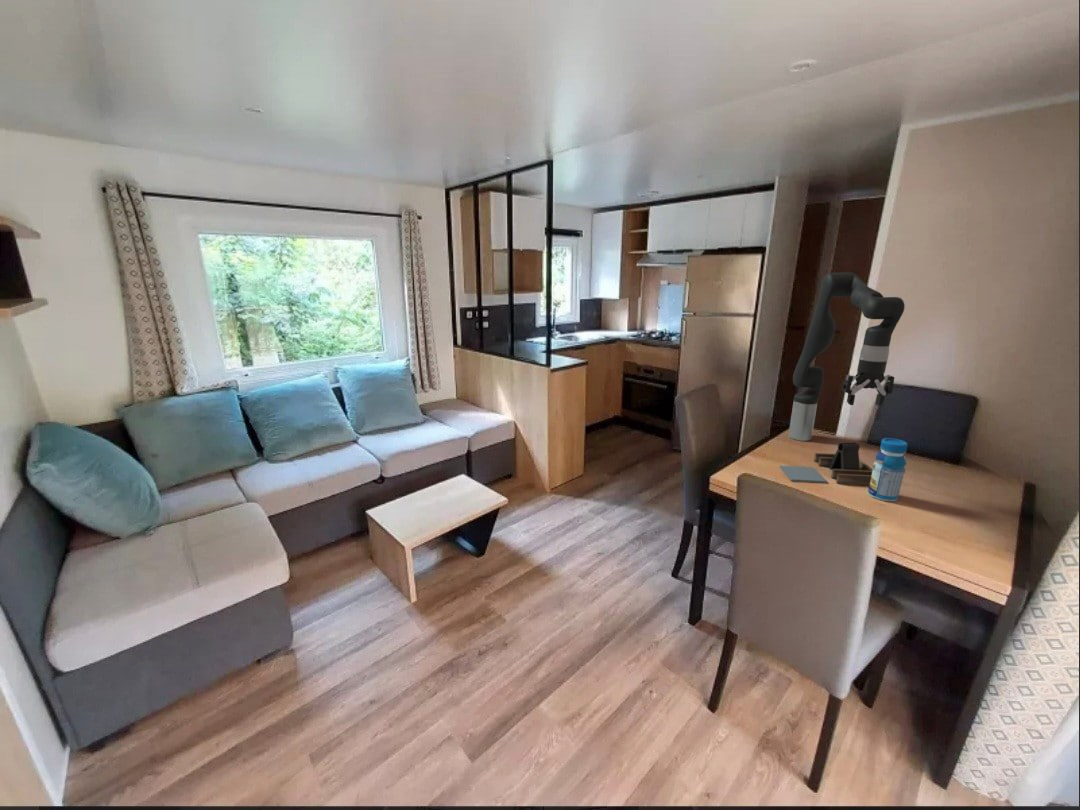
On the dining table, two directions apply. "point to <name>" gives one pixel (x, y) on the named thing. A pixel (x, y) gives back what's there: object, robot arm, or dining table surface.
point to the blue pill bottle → (888, 470)
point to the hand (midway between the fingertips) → (864, 404)
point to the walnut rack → (846, 471)
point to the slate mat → (803, 474)
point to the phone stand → (846, 457)
